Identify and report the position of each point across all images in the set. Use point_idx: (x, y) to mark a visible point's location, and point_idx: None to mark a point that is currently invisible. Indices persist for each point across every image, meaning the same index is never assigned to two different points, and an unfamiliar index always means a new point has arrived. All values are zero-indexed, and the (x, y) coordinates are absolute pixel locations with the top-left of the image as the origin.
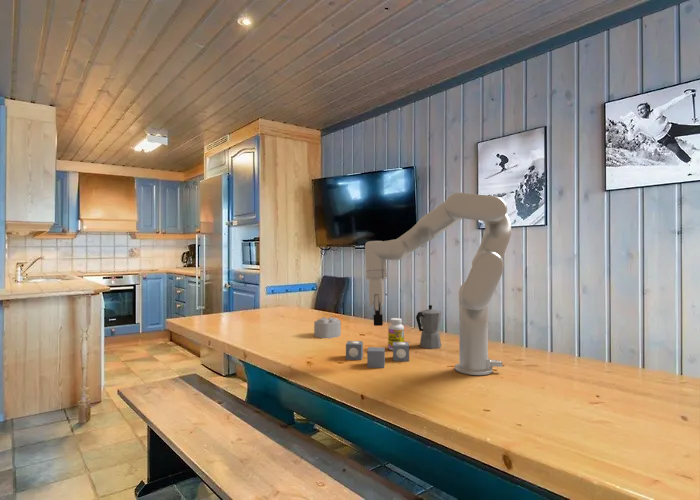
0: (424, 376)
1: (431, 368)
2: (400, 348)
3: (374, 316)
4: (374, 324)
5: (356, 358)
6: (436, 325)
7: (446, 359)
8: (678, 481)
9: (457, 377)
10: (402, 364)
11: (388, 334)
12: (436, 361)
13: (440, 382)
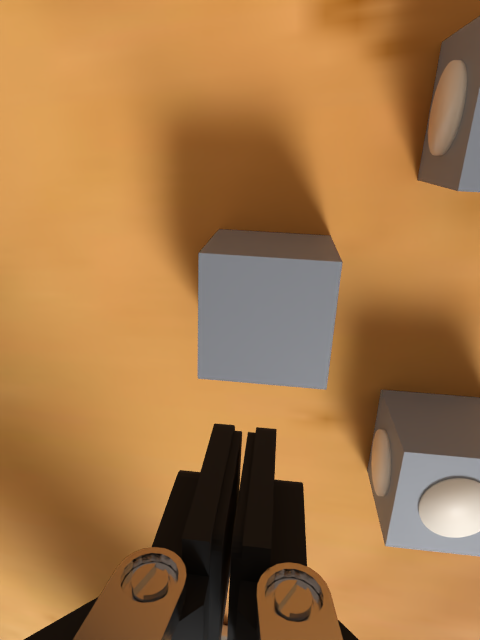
0: (94, 497)
1: None
2: (390, 482)
3: (187, 527)
4: (211, 436)
5: (427, 138)
6: None
7: (399, 629)
8: None
9: None
10: (299, 431)
11: None
12: (361, 585)
13: (24, 536)
